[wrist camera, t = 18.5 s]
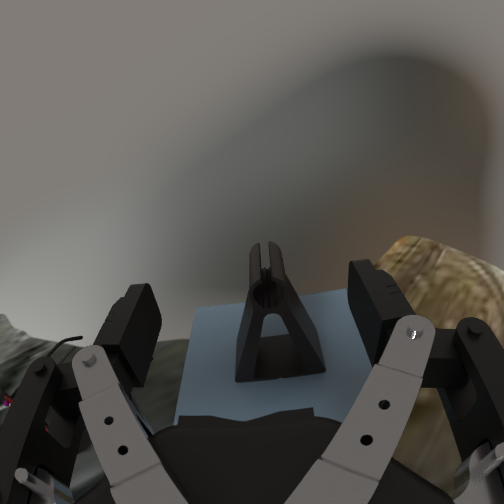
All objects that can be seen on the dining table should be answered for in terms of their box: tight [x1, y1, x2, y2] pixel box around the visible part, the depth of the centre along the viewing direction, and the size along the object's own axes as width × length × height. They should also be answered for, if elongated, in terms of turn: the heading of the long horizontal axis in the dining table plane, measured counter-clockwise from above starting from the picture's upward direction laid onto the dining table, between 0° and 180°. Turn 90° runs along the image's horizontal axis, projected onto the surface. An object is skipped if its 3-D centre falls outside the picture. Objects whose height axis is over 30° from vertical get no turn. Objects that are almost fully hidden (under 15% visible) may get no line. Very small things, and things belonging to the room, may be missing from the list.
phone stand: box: [235, 241, 326, 383], centre depth 28 cm, size 9×6×12 cm, turn 90°
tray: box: [173, 288, 372, 425], centre depth 31 cm, size 20×20×1 cm
